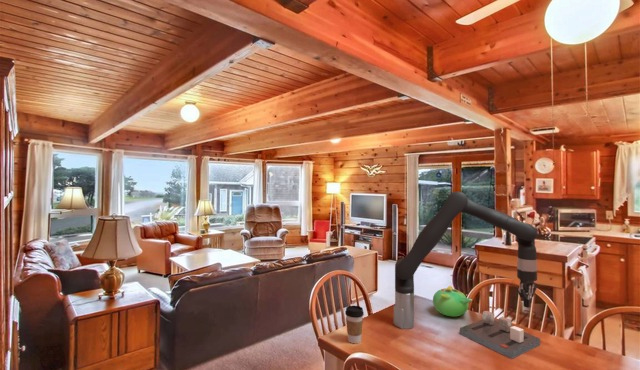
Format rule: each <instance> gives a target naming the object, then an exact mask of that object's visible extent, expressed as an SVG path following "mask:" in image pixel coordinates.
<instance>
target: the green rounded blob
mask: <svg viewBox="0 0 640 370" xmlns="http://www.w3.org/2000/svg"><path fill="white" fill-rule="evenodd" d="M471 302H473V299H472V298H468V297H467V296H466V295H465V294H464V293H463V292H462V291H460V290H458V289H455V288H453V286H451V285H449V286H448V287H446V288H441V289H439V290H437V291H436V292H435V293H434V295H433V297H432V304H433V306H434V309H435V310H436V311H437V312H438V313H440V314H441V315H443V316H447V317H460V316H462V315H464V314H465V313H466V312H467V311H468V309H469V305H470V304H469V303H471Z"/></svg>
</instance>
